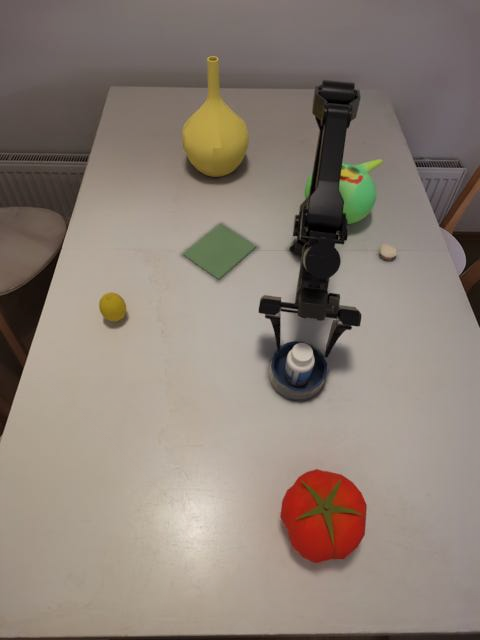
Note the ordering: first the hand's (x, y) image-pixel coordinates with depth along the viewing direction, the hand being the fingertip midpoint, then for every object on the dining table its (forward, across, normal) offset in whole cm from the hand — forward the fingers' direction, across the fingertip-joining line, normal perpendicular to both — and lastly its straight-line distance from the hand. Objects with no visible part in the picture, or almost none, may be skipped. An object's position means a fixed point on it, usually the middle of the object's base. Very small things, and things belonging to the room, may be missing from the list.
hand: (302, 353), depth 83 cm
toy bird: (-29, +6, +41) cm, 51 cm away
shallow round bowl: (+6, 0, +6) cm, 8 cm away
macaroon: (-20, +20, +32) cm, 42 cm away
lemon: (+1, -41, +11) cm, 43 cm away
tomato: (+26, +6, -13) cm, 29 cm away
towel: (-16, -22, +27) cm, 38 cm away
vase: (-39, -29, +50) cm, 70 cm away
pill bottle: (+6, 0, +5) cm, 8 cm away
